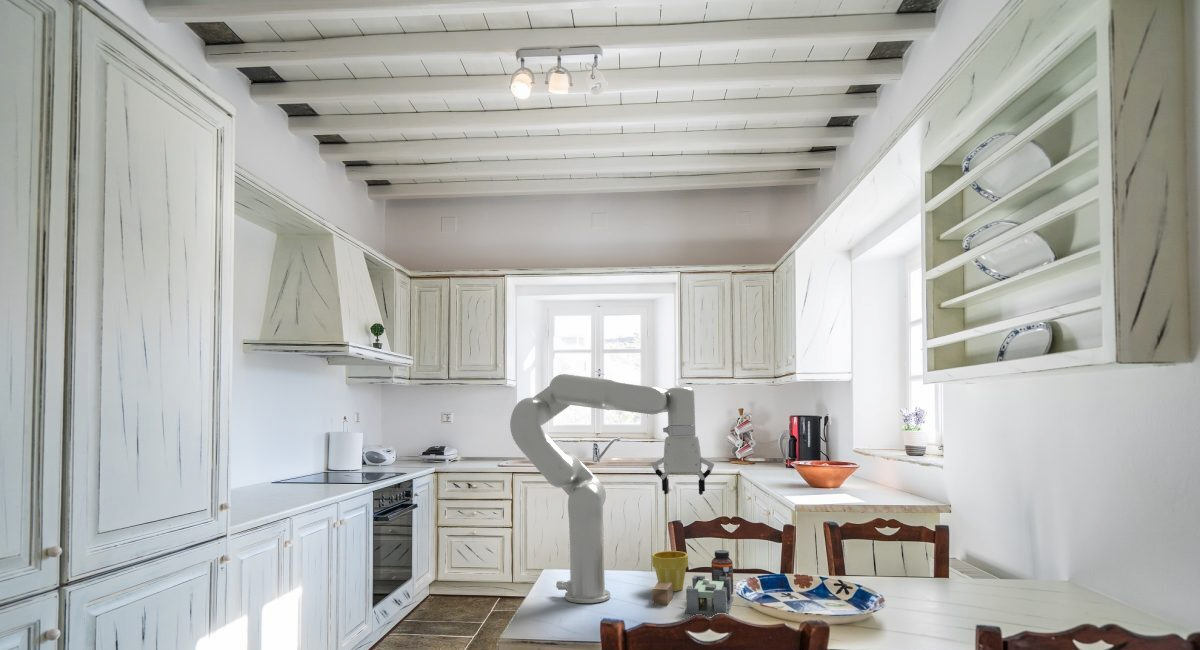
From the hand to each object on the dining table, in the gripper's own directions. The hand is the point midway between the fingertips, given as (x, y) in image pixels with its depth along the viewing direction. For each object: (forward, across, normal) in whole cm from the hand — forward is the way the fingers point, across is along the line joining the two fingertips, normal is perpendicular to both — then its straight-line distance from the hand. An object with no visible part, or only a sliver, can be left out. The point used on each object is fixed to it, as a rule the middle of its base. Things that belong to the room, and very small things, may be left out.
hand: (683, 493), depth 212 cm
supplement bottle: (+28, +9, +9) cm, 31 cm away
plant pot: (+28, -6, +10) cm, 31 cm away
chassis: (+28, +7, -6) cm, 30 cm away
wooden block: (+28, -6, -3) cm, 29 cm away
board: (+25, +7, -6) cm, 26 cm away
